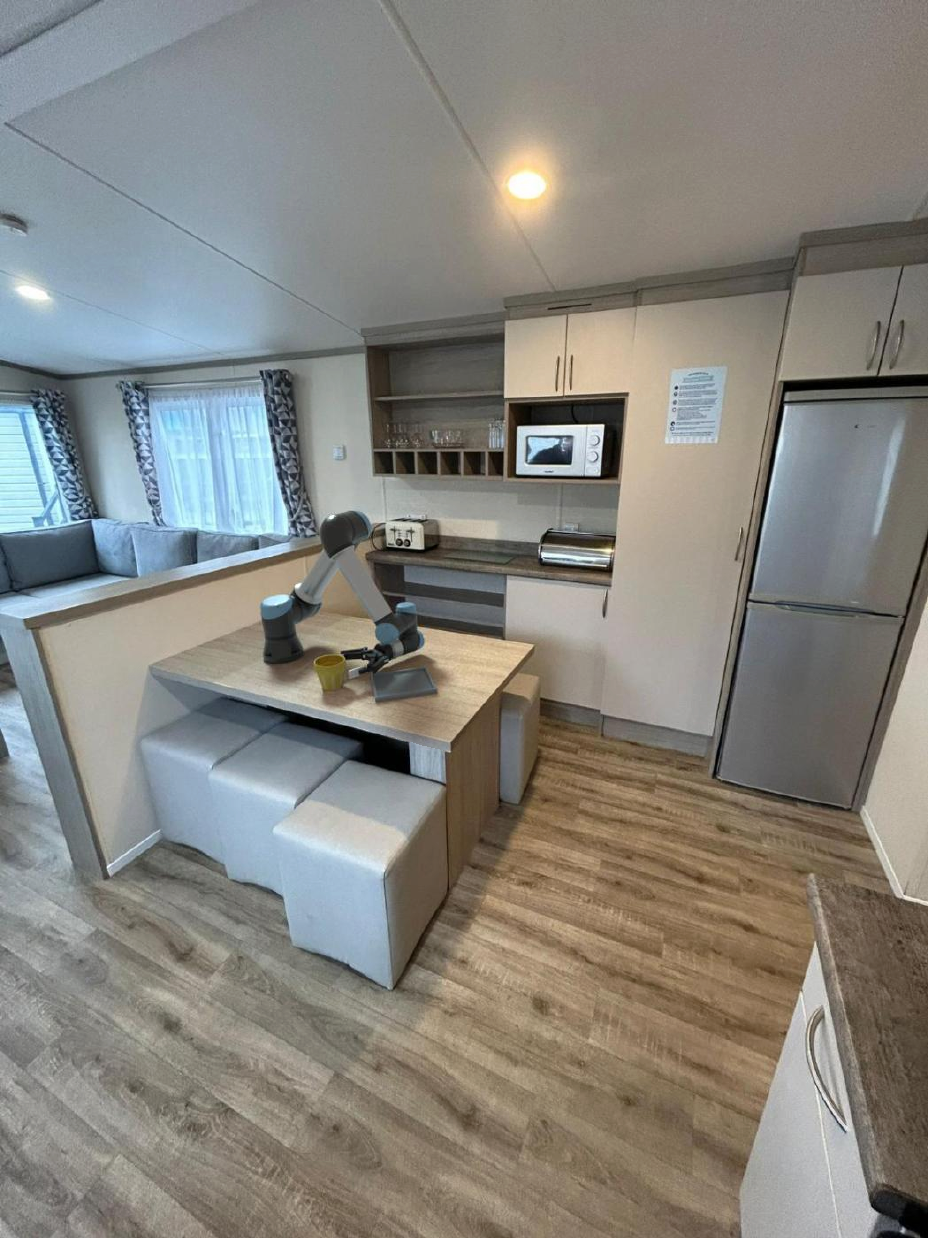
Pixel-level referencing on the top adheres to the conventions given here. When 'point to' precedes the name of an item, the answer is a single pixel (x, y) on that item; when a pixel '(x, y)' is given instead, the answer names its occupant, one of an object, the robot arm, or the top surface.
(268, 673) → the top surface
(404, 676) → the charcoal tray
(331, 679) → the plant pot
